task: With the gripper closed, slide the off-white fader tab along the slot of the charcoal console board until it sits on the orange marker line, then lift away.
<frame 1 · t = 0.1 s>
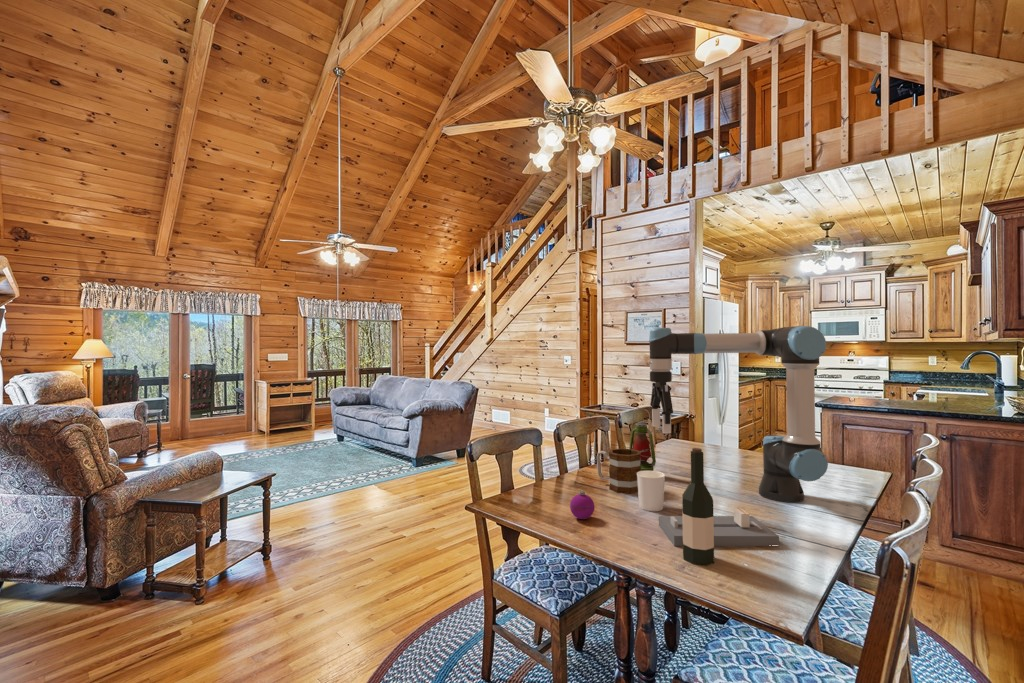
hand: (661, 429, 170), 28 cm above the table, fingers open, 13 cm apart
mug: (618, 487, 195), on the table
christmas ornament: (582, 519, 160), on the table
lantern: (641, 475, 212), on the table
fader: (741, 517, 145), point 5 cm above the table, slide at -8.0 cm
wine bottle: (698, 559, 129), on the table
console: (715, 535, 145), on the table
candle holder: (651, 507, 170), on the table
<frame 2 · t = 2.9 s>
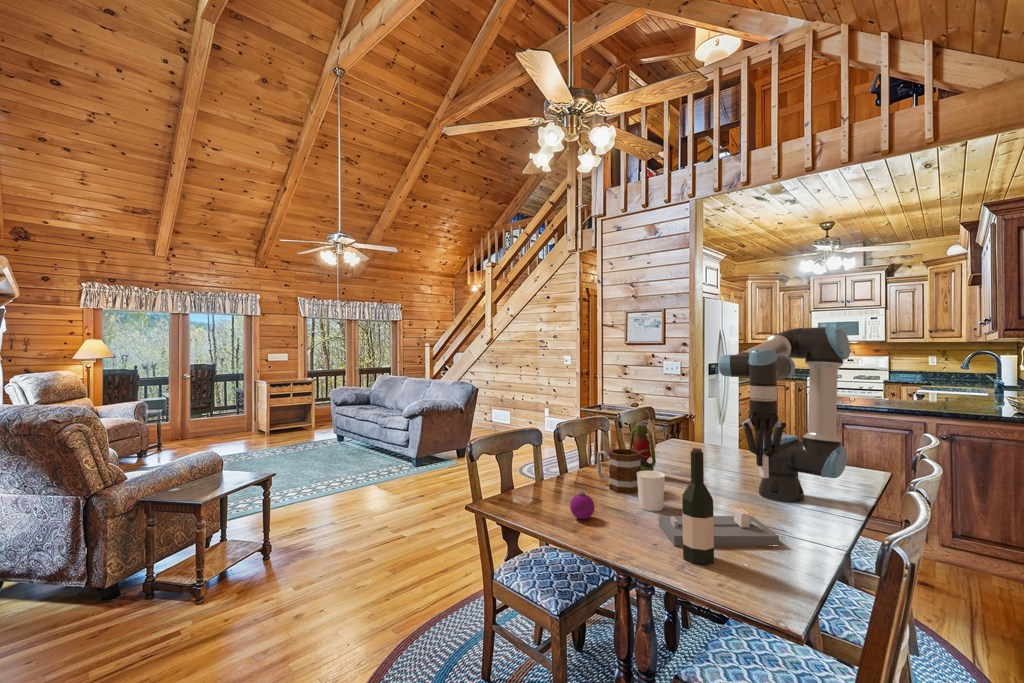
hand: (763, 476, 145), 18 cm above the table, fingers closed
nothing on the table moved.
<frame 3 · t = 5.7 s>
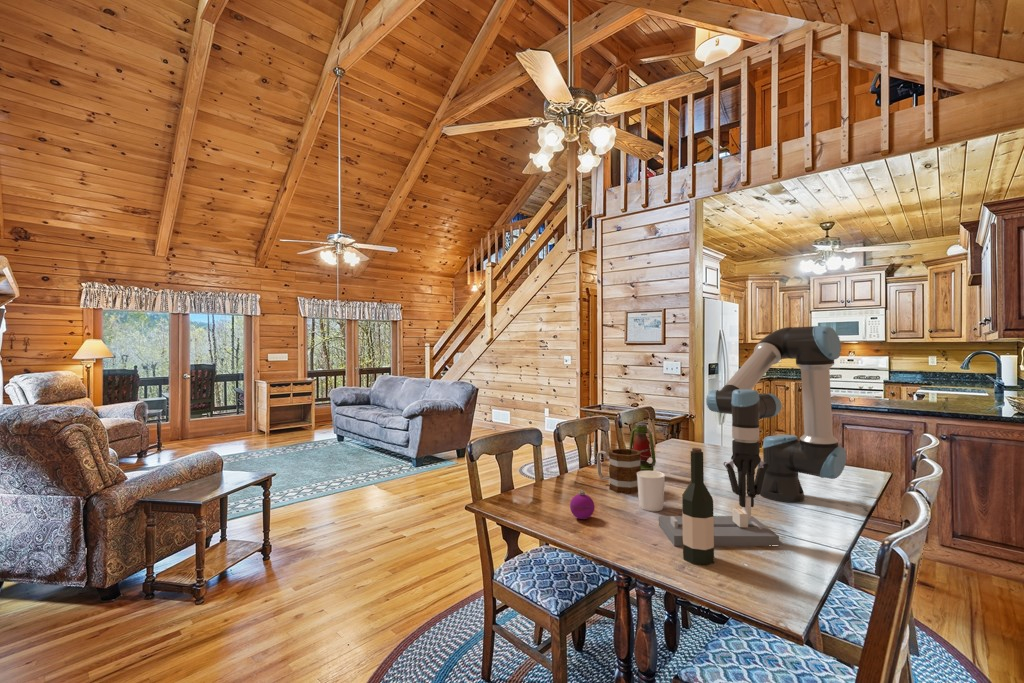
hand: (746, 517, 145), 6 cm above the table, fingers closed
fader: (740, 517, 145), point 5 cm above the table, slide at -7.5 cm, touching gripper
everything else where it was.
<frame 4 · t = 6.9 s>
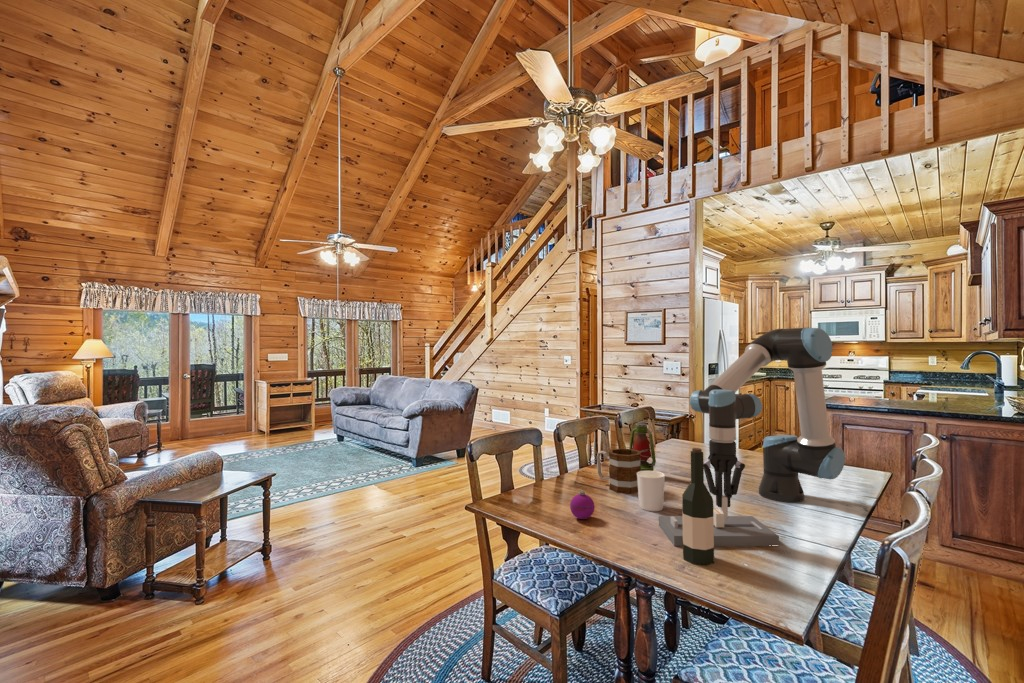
hand: (723, 517, 145), 6 cm above the table, fingers closed
fader: (716, 517, 145), point 5 cm above the table, slide at -0.5 cm, touching gripper
everything else where it was.
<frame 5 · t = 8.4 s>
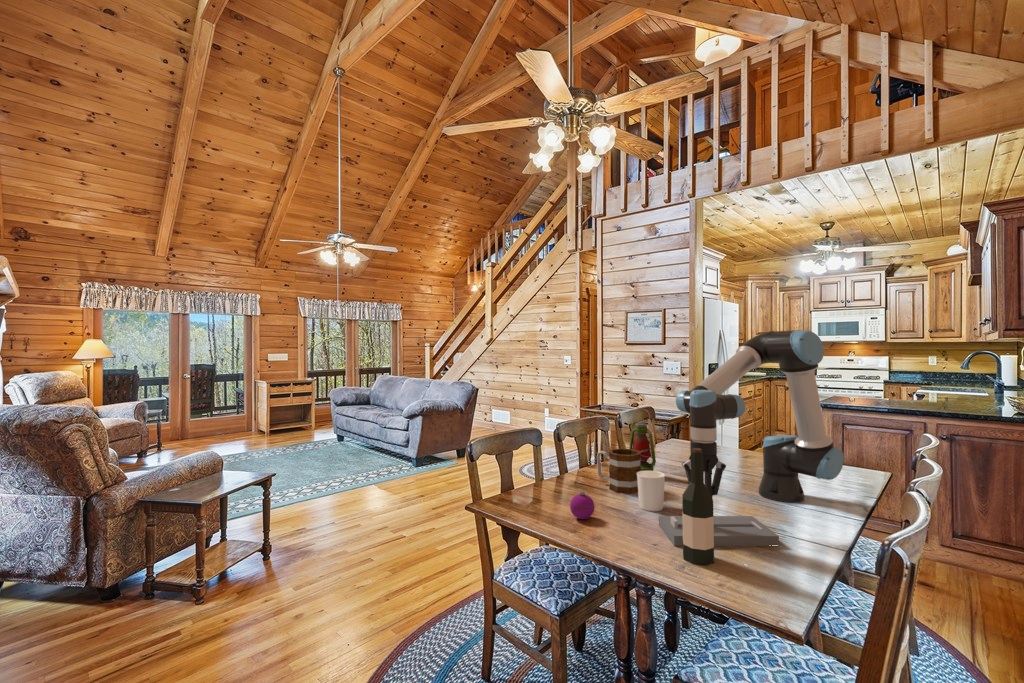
hand: (704, 517, 145), 5 cm above the table, fingers closed
fader: (697, 517, 145), point 5 cm above the table, slide at 5.3 cm, touching gripper
everything else where it was.
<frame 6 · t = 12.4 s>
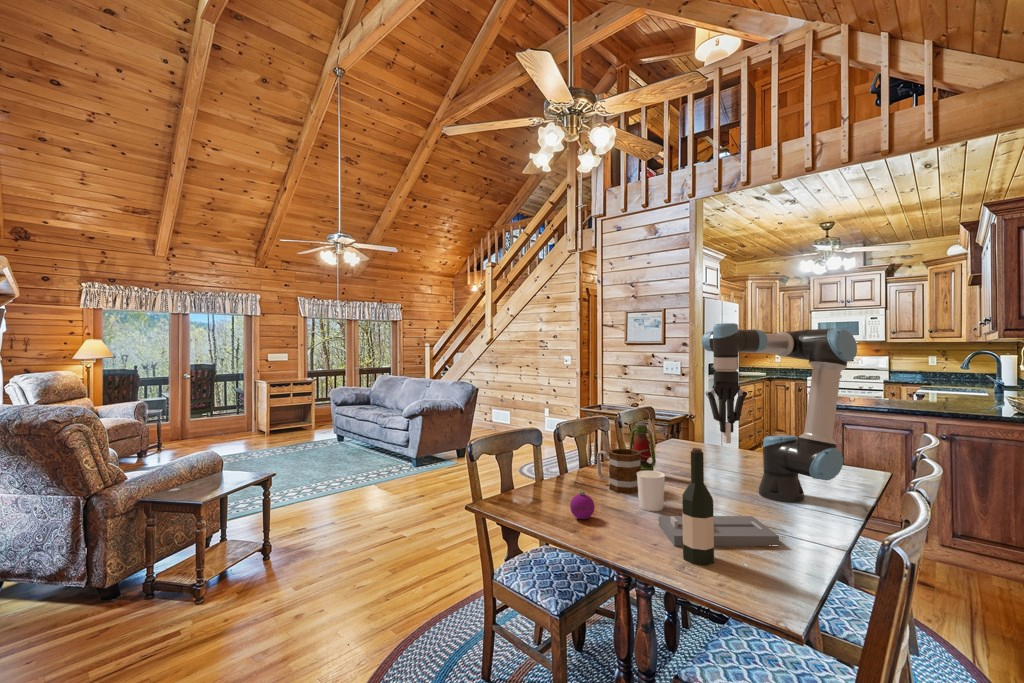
hand: (726, 442, 155), 26 cm above the table, fingers closed
fader: (697, 517, 145), point 5 cm above the table, slide at 5.4 cm
everything else where it was.
at the end: fader slide at 5.4 cm; fader touching nothing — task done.
